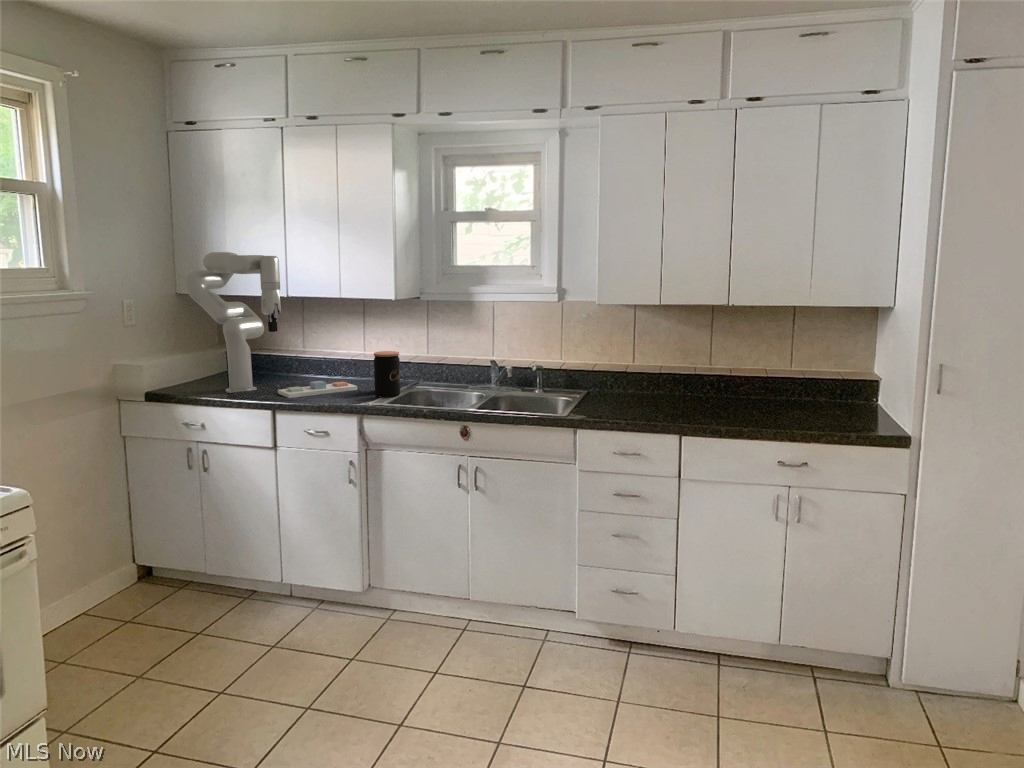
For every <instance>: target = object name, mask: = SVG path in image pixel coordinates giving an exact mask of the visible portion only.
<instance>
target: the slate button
mask: <svg viewBox="0 0 1024 768" xmlns="http://www.w3.org/2000/svg"><path fill="white" fill-rule="evenodd" d="M326 384H327V382H326V381H323V380H315V381H309V386H310V388H311V389H314V390H316V389H324V388H326Z"/></svg>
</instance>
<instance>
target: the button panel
mask: <svg viewBox="0 0 1024 768" xmlns="http://www.w3.org/2000/svg"><path fill="white" fill-rule="evenodd" d="M347 383H348V386H342V387H335V386H332V383H326V388H324V389H316V390H314V389H311V388H310V385H309V386H300V387H301V388H303V391H299V392H289V391H287V388H282V389H277V393H278V395H281V396H283V397H285V398H288V399H293V398H299V397H300V398H301V397H309V396H316V395H323V394H332V393H333V394H334V393H340V392H341V393H342V392H350V391H357V390H358V385H356V384H351V383H349V382H347Z"/></svg>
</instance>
